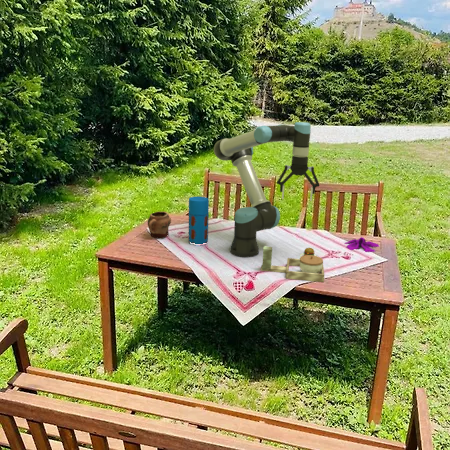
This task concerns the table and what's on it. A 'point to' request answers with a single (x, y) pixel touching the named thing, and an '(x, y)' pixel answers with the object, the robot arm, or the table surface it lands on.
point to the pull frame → (289, 274)
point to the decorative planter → (159, 224)
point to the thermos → (198, 220)
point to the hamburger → (308, 252)
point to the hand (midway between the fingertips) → (296, 199)
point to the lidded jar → (311, 264)
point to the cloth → (361, 245)
